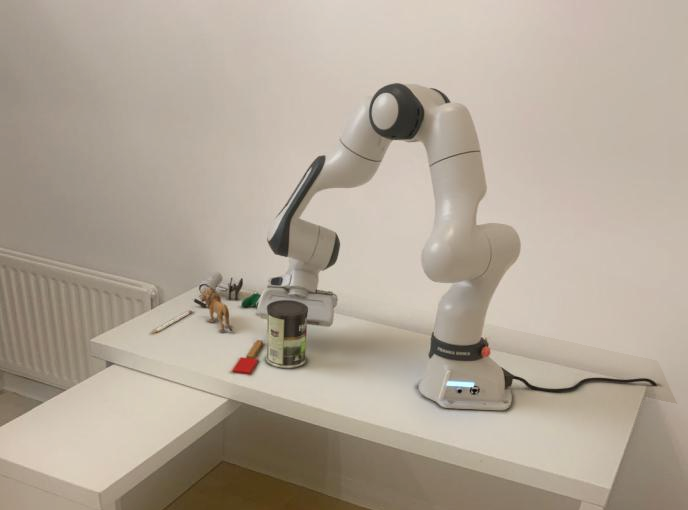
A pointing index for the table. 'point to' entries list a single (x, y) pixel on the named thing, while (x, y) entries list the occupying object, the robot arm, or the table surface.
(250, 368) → the spatula
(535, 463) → the table surface
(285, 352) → the coffee can
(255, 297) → the gaming controller
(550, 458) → the table surface
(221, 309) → the lion figurine
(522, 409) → the table surface
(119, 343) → the table surface
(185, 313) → the pencil
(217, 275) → the clip-on lamp
